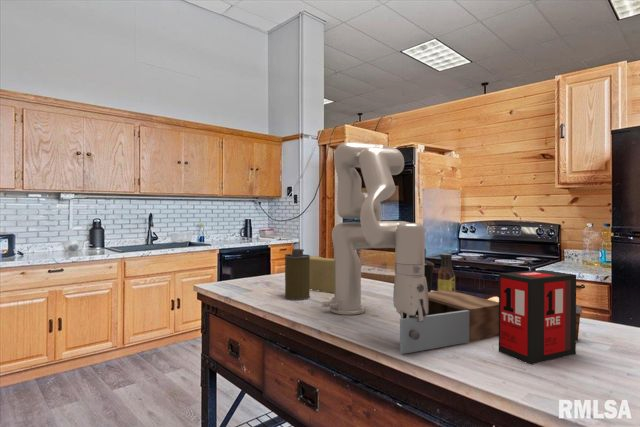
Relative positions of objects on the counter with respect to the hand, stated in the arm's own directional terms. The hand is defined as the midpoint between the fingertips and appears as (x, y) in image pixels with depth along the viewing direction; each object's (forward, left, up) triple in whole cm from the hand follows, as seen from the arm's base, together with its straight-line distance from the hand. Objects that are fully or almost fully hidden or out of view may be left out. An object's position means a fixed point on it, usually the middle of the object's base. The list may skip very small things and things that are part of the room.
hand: (408, 338), depth 99 cm
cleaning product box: (+26, -18, -2) cm, 32 cm away
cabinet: (+24, +6, -2) cm, 25 cm away
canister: (-4, +65, -2) cm, 65 cm away
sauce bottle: (+40, +26, -2) cm, 48 cm away
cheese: (+13, +71, -2) cm, 73 cm away
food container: (+44, -12, -2) cm, 46 cm away
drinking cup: (+46, +44, -2) cm, 64 cm away
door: (+5, -5, -2) cm, 8 cm away
